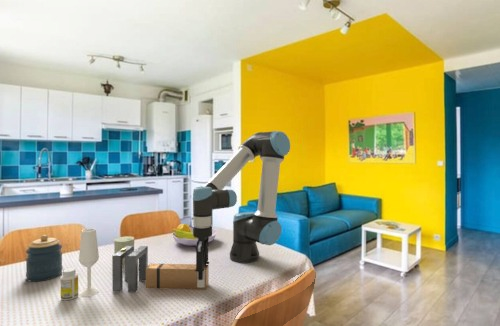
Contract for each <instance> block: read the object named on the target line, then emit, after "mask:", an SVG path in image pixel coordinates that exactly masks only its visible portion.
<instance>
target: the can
mask: <svg viewBox="0 0 500 326" xmlns="http://www.w3.org/2000/svg"><path fill="white" fill-rule="evenodd" d="M113 243H114V254H115V253H117V252H118V251H120V250H121V249H123V248H124V247H126V246H134V247H135V236H131V235H130V236H129V235H126V236H120V237H117V238H116V237H115V238H114V239H113ZM123 266H124V267H125V258H123Z"/></svg>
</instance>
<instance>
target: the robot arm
mask: <svg viewBox="0 0 500 326" xmlns="http://www.w3.org/2000/svg"><path fill="white" fill-rule="evenodd" d="M290 141H291V140H290V138H289V137H288V135H287V134H286V133H285V132H283V131H277V130H272V131H266V132H265V131H264V132H263V131H261V132H256V133H254V134H252V135H251V136H249V137H248V138H246V140H245V141H243V142H242V143H241V144H240V145H239V146H238V148H237V149H238V150H237V151H236V152H235V153H234V155H232V156H231V158H229V159H228V161H226V162H225V164H224V165H222V166H221V168H220V169H219V170H218V171H217V172H216V173H215V174H213V176H212V177H211V178H210V179H208V180H207V182H206V183H205V184H204V185H203V186H201V185H200V186H195V187H194V188H193V190H192V191H193V192H192V213H193V214H192V217H191V220H192V228H193V236H194V237H197V238H198V241H197V245H196V246H195V253H196V254H195V259H196V261H195V264H196V270H195V271H196V272H197V287H205V270H204V265H210V261H209V242H208V239H209V238H208V237H210V236H211V235H212V229H213V211H214V210H219V209H220V210H221V209H229V208H232V207H234V206H236V204H237V202H238V196H237V193H236V192H235V190H234V189H224V188H225V187H226V186H227V185H228V184H229V183H230V182H231V181H232V180H233V179H234V177H235V176H237V174H239V173H240V172H241V170H242V169H243V168H244V167H245V166H246V165H247V163H248V162H249V161H250V162H251V161H253V160H254V159H255V158H257V157H259V158H260V160H261V161H262V163H261V166H262V167H261V175H260V182H259V192H258V199H257V201H258V202H257V210H256V211H254V212H253V211H246V212H238V213H235V214H234V215H233V223H232V224H233V225H232V227H233V228H232V233H233V237H232V238H233V239H232V242H233V243H232V246H231V249H230V252H229V259H230V260H231V261H233V262H237V263H242V264H243V263H252V262H255V261H258V260H260V250H259V248H258V244H257V243H259V244H261V245H266V246H273V245H275V244H276V243H277V241H279V239H280V237H281V235H282V231H283V229H282V225H281V222H280V221H278V218H279V216H278V215H277V214H276V209H277V208H276V206H277V197H278V188H279V187H278V186H279V181H280V180H279V179H280V178H279V177H280V168H281V163H282V162H283V161H285V156H287V155H288V154H289V152H291V151H290V150H291V142H290Z"/></svg>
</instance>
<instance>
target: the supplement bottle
mask: <svg viewBox="0 0 500 326" xmlns="http://www.w3.org/2000/svg"><path fill="white" fill-rule="evenodd" d="M76 271H77V269H76V268H75V267H69V268H65V269H64V270H62V275H61V276H60V282H59V283H60V299H61V300H62V301H71V300H74V299H76V298H77V297H78V296H79V274H78V273H77V272H76Z"/></svg>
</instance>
